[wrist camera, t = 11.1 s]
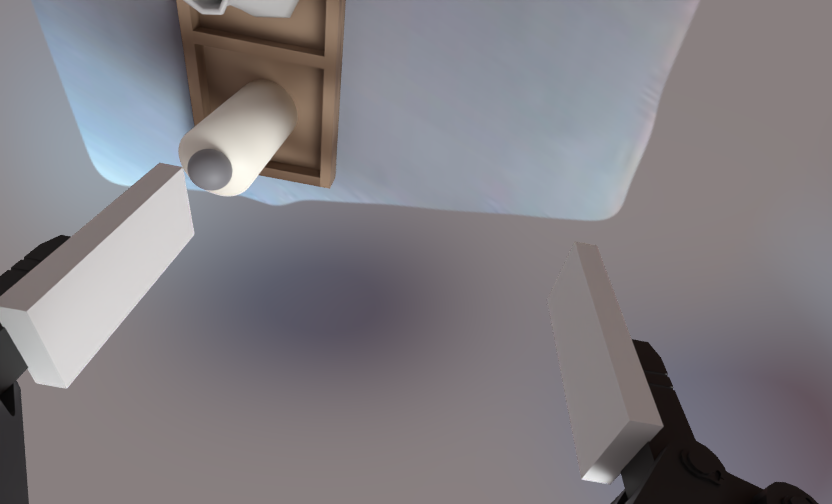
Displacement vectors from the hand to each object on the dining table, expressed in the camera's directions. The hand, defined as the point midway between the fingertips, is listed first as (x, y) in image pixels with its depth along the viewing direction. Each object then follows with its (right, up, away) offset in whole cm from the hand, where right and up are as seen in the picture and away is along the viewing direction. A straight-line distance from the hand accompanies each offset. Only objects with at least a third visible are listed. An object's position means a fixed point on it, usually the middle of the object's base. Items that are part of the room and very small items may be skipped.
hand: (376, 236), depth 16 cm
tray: (-12, +18, +24) cm, 32 cm away
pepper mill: (-13, +13, +27) cm, 32 cm away
